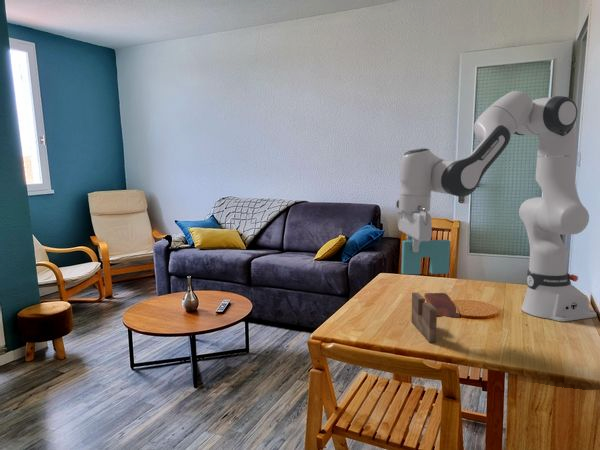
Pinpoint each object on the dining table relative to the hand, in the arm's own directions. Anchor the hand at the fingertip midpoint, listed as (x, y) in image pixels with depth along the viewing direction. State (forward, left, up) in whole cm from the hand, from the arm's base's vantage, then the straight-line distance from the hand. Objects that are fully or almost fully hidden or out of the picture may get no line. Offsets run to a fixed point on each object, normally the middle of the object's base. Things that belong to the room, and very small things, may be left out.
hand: (412, 250), depth 128 cm
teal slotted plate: (-4, 0, -7) cm, 8 cm away
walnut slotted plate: (-4, 0, -26) cm, 26 cm away
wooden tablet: (-19, -24, -27) cm, 40 cm away
